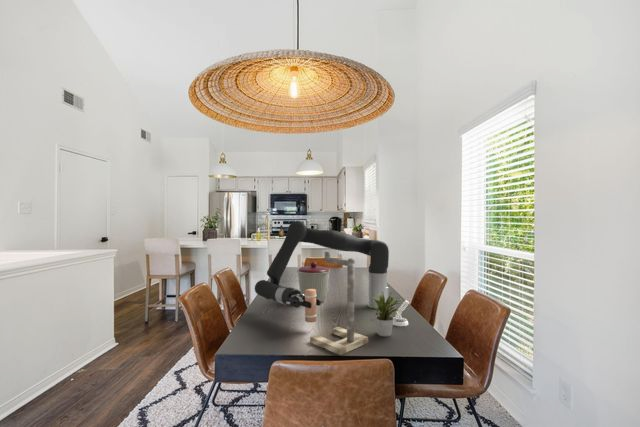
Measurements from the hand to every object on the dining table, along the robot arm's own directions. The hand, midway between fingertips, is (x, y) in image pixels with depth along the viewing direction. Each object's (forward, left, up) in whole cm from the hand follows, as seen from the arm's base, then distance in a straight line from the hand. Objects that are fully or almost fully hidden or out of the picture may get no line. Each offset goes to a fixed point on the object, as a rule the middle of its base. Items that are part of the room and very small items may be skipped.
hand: (315, 304), depth 122 cm
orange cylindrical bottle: (+1, -3, -7) cm, 8 cm away
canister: (-21, -41, -11) cm, 47 cm away
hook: (-37, +7, -11) cm, 39 cm away
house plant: (-22, +15, -11) cm, 29 cm away
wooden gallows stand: (-3, +12, -11) cm, 17 cm away
